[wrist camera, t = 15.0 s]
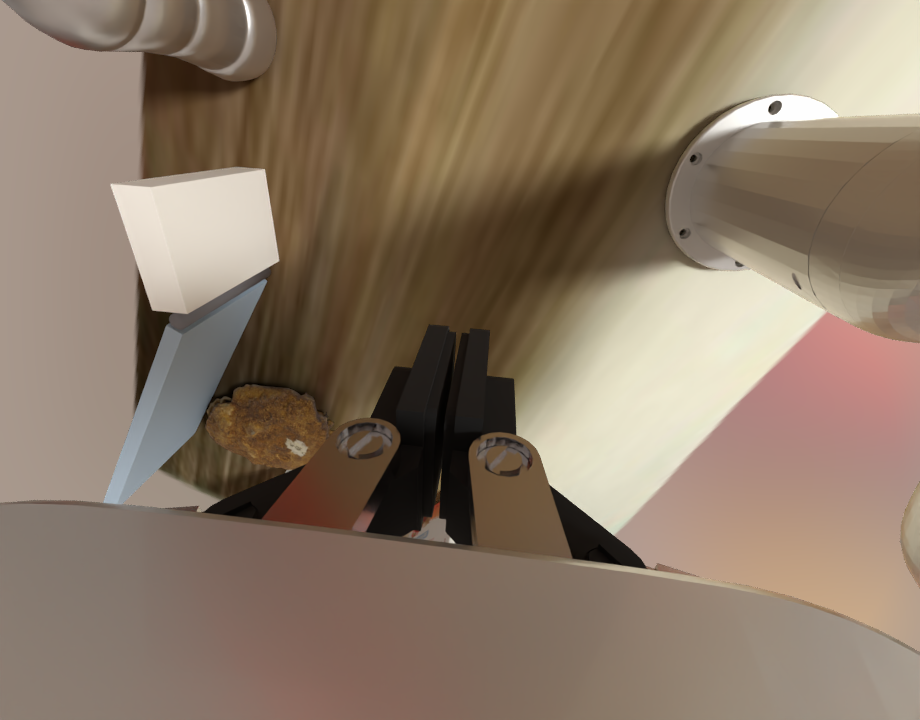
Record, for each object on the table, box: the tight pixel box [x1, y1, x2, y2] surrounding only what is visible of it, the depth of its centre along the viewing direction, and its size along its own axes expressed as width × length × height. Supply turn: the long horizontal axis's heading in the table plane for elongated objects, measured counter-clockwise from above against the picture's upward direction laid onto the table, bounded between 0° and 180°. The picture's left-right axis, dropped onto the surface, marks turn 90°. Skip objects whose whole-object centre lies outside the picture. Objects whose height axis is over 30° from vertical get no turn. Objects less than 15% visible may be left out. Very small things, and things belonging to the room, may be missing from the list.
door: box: [103, 267, 271, 504], centre depth 39 cm, size 26×3×12 cm, turn 145°
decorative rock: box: [205, 384, 334, 470], centre depth 48 cm, size 11×4×15 cm
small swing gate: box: [110, 167, 291, 473], centre depth 39 cm, size 38×3×13 cm, turn 176°
